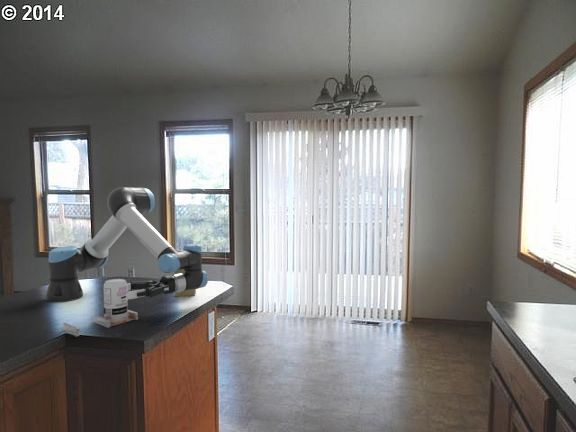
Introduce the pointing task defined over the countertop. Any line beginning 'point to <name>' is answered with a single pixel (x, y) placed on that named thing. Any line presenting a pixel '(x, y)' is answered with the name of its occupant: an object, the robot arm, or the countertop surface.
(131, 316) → the rack with upright dividers
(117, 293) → the sparkling water can
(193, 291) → the cheese
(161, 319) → the countertop surface
